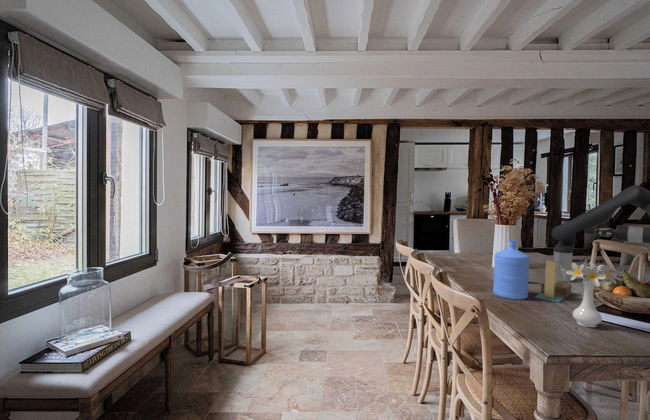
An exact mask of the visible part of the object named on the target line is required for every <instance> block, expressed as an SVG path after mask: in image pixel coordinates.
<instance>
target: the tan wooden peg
mask: <svg viewBox="0 0 650 420" xmlns="http://www.w3.org/2000/svg"><path fill="white" fill-rule="evenodd" d="M557 264H558V261H553V260H552V259H551V260H550V259H547V260H546V261H545V269H544V270H545V274H544V282H545V289H544V297H547V298H552V299H554V298H555V297H556V283H557V282H558V281H557Z"/></svg>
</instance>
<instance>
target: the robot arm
mask: <svg viewBox="0 0 650 420" xmlns="http://www.w3.org/2000/svg"><path fill="white" fill-rule="evenodd" d="M628 204H631V205H632V206H634V207H637V208H639V209H641V210H642V211H644V212H645V213H647V215H648V217H649V218H650V190H649V189H647V188H645V187H643V186H641V185H638V184H635V185H630V186H628V187H627V188H625V189H623V190H622V191H620V192H618V193H617V194H616V195H614V196H613V197H611V198H609V199H608V200H606V201H604V202H602V203H600V204H598V205H596V206H594V207H592V208H590V209H588V210H587V211H585V212H584V213H581V214H579V215H578V216H576V217H574V218H573V219H570V220H569V221H567V222H565V223H561V224H559V225H556V226H554V228H552V231H551V237H552V238H553V239H554V240H556V241H557V242H558V243H557V244H556V245H555V246H554V247H553V260H552V261H558V264H557V282H560V283H571V282H572V280H571V276H572V275H569V274H568V276H567V277H566V279H565V281H564V282H563V276H564V275H562V273H561V270H562V269H561V266H562V267H563V268H564V269H565V270H566V271H568V270H573V269H572V263H573V252H574V249H575V246H576V237H577V236H576V233H577V232H581V231H584V234H586V235H587V234H588V235H595V236H600V237H609V238H610V237H612V236H614V237H615V240H616V241H617V242H624V243H625V242H626V243H639V244H640V243H645V244H650V227H647V226H646V227H644V226H643V227H642V226H636V225H622V224H618V225H616V228H611V227H598V226H600V225H602V224H604V223H606V222H608V221H610V219H611V218H612V217H613V215H614V214H615V212H616V211H617V210H618V209H619V208H620V207H624V206H625V205H628ZM597 227H598V228H597ZM560 265H561V266H560Z"/></svg>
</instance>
